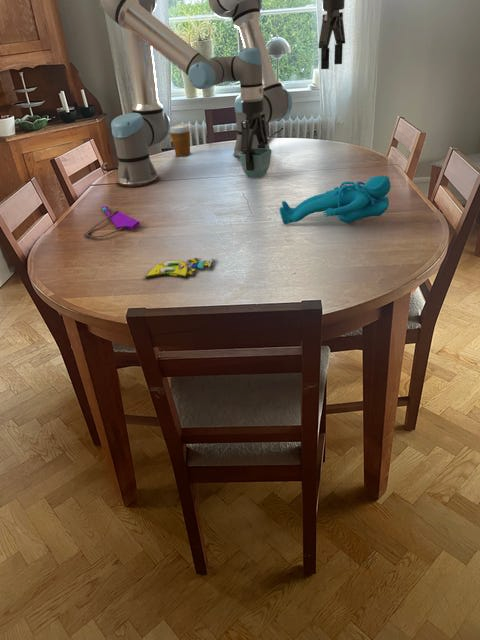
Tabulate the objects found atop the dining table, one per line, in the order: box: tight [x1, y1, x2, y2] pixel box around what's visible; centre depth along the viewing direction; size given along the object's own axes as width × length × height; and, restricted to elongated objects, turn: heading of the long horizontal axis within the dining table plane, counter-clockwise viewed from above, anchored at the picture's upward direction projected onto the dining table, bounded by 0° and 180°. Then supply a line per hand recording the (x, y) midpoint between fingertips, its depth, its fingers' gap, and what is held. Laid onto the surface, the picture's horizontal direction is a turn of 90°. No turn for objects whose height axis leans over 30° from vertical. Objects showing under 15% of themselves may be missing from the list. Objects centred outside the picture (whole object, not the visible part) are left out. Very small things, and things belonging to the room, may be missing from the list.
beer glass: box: [169, 123, 191, 157], centre depth 210 cm, size 10×10×12 cm
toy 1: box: [145, 257, 214, 279], centre depth 117 cm, size 10×1×15 cm
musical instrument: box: [85, 205, 141, 239], centre depth 147 cm, size 24×2×20 cm
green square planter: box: [239, 148, 272, 179], centre depth 175 cm, size 9×9×9 cm
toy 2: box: [278, 175, 392, 225], centre depth 133 cm, size 17×11×30 cm
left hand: (256, 166), depth 176 cm, fingers closed on green square planter, 9 cm apart
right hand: (331, 66), depth 175 cm, fingers open, 13 cm apart
